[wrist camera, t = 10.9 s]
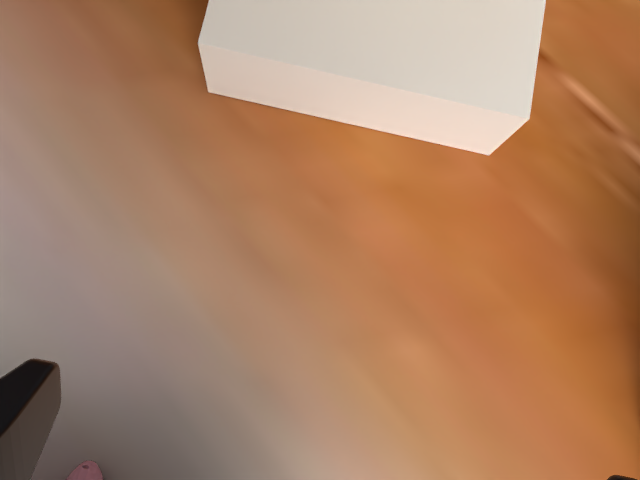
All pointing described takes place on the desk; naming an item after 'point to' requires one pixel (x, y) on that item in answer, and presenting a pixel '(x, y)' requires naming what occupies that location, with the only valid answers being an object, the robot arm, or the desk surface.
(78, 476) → the video game controller
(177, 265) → the desk surface
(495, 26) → the carton
